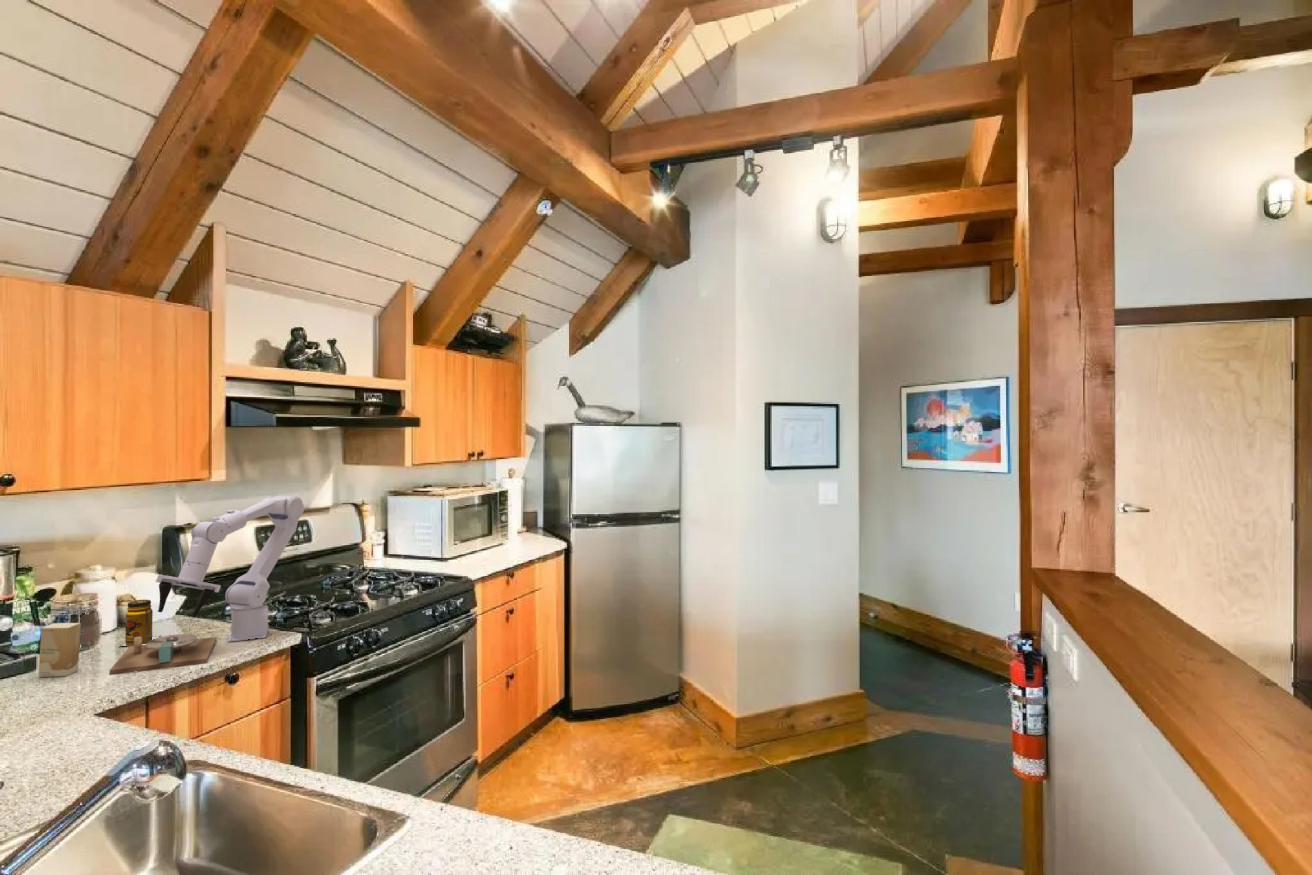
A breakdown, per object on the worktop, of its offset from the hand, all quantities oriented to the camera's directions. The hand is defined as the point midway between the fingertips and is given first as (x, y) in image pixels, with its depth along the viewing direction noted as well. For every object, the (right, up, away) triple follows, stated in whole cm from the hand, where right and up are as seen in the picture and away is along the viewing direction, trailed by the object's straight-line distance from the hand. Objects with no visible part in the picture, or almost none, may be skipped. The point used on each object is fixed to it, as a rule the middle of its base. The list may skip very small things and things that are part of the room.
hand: (176, 614), depth 171 cm
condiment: (-20, -12, +13) cm, 27 cm away
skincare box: (-21, -12, -12) cm, 26 cm away
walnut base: (-3, -12, +2) cm, 13 cm away
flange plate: (-2, -10, 0) cm, 11 cm away
